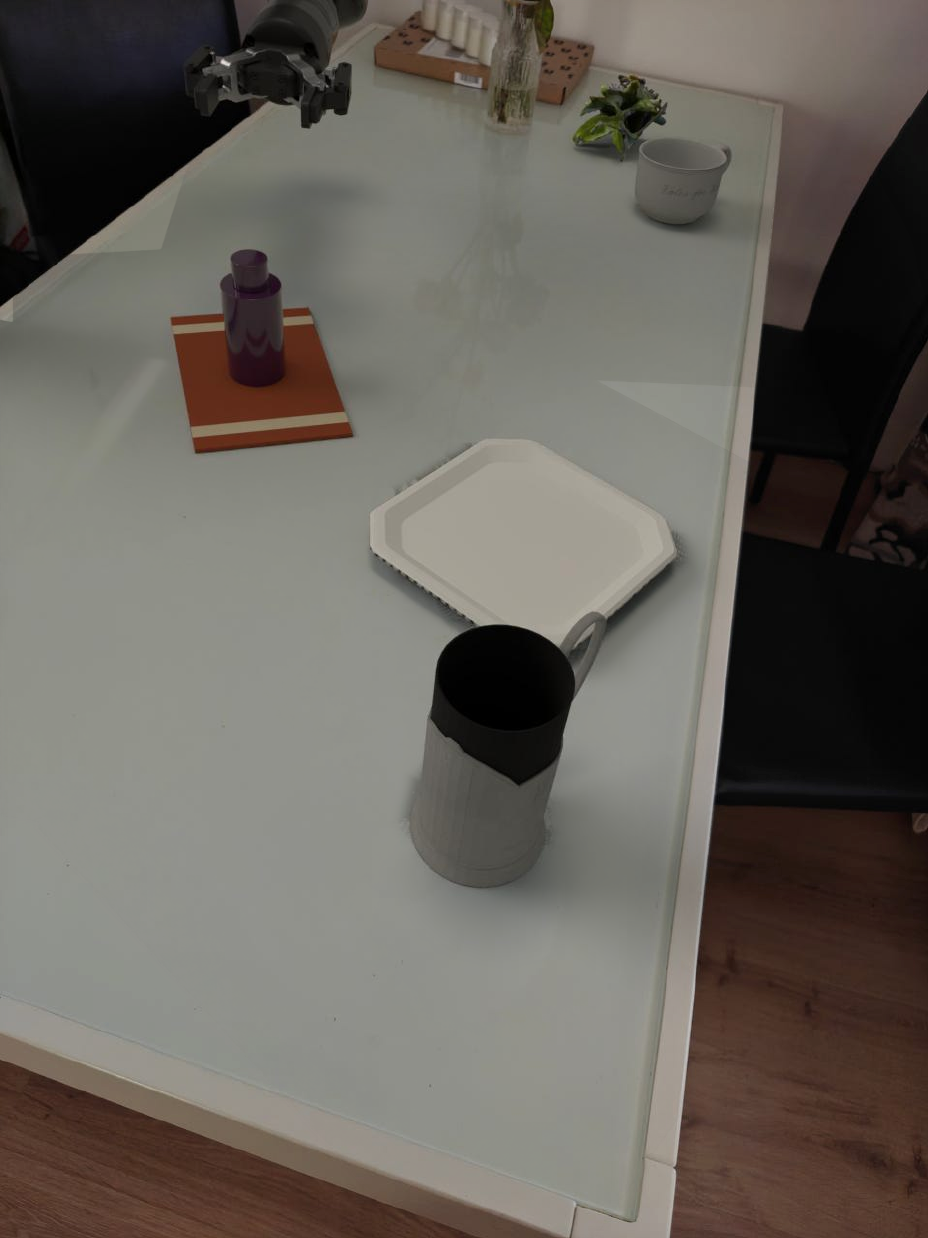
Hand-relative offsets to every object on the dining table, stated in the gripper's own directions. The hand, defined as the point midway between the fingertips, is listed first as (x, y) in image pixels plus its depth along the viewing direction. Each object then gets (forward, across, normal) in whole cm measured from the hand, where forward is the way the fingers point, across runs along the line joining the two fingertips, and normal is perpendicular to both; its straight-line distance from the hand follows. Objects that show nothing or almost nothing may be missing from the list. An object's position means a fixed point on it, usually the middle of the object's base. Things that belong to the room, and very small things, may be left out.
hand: (254, 110), depth 83 cm
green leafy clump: (-58, +38, +22) cm, 73 cm away
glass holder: (+51, +26, +22) cm, 61 cm away
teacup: (-41, +45, +22) cm, 65 cm away
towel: (+6, 0, +22) cm, 23 cm away
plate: (+27, +26, +22) cm, 44 cm away
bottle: (+6, 0, +22) cm, 22 cm away
